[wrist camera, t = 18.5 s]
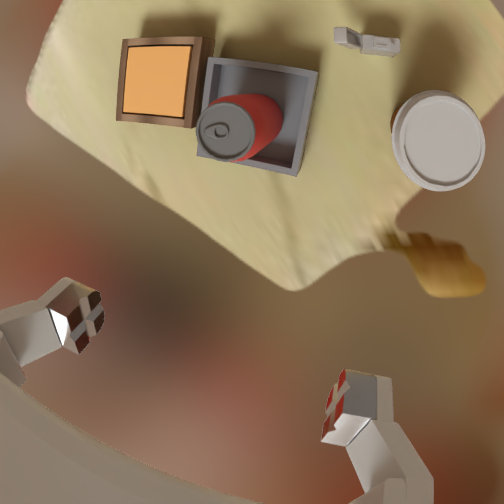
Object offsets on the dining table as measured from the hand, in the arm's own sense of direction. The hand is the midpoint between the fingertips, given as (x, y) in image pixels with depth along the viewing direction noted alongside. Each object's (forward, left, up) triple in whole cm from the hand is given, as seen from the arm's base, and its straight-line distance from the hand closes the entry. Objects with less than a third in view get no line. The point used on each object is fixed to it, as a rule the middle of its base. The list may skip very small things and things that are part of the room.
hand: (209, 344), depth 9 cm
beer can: (+7, -2, -32) cm, 33 cm away
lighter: (-4, -14, -33) cm, 36 cm away
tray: (+7, -3, -33) cm, 34 cm away
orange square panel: (+20, -6, -30) cm, 37 cm away
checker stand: (+20, -6, -33) cm, 39 cm away
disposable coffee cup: (-12, -6, -33) cm, 36 cm away
